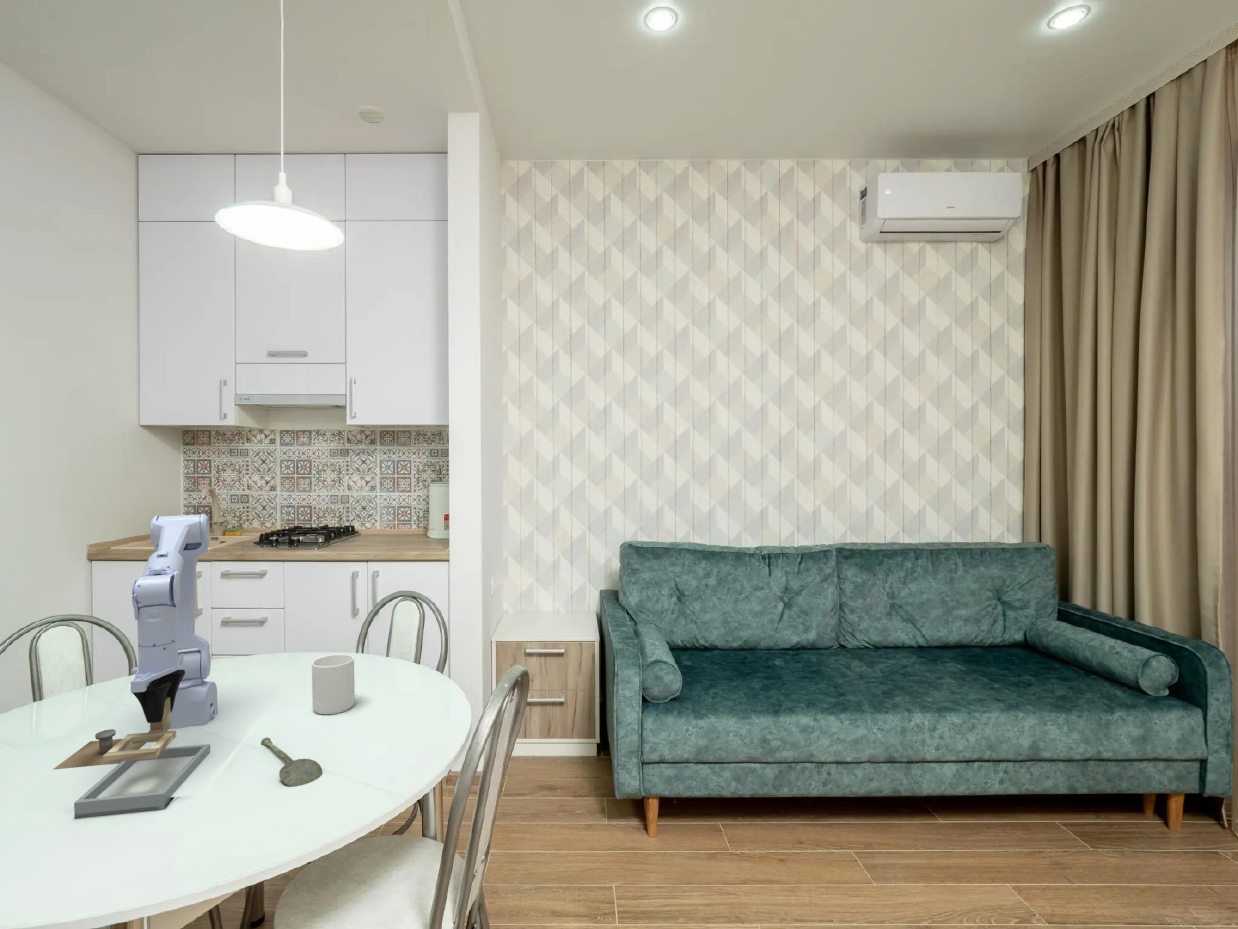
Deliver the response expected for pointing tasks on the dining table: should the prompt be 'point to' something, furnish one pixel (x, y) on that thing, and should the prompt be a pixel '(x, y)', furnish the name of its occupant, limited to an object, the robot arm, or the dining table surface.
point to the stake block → (95, 751)
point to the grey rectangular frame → (138, 802)
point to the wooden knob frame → (144, 741)
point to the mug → (333, 683)
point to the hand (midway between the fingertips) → (159, 717)
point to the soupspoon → (296, 768)
